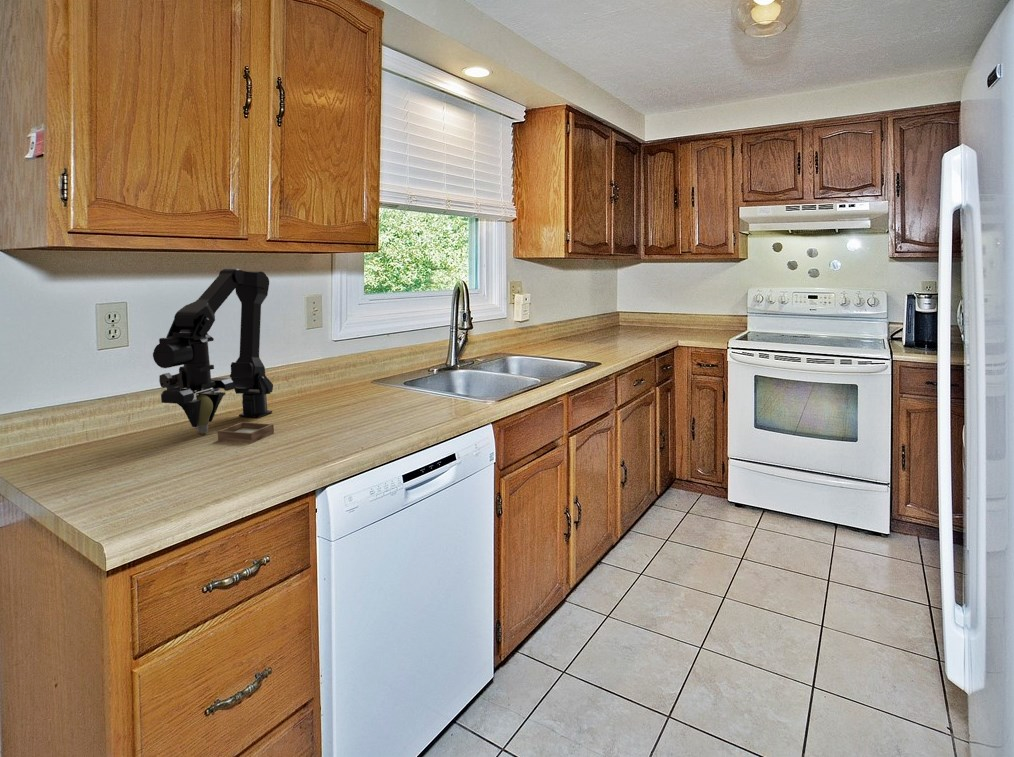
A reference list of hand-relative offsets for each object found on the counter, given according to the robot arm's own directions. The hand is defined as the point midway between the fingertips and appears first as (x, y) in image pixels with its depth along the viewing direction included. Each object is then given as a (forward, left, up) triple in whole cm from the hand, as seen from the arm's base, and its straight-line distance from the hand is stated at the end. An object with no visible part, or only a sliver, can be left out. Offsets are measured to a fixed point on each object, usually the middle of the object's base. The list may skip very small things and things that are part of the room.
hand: (202, 424), depth 156 cm
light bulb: (0, 0, -3) cm, 3 cm away
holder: (-1, +12, -2) cm, 12 cm away
